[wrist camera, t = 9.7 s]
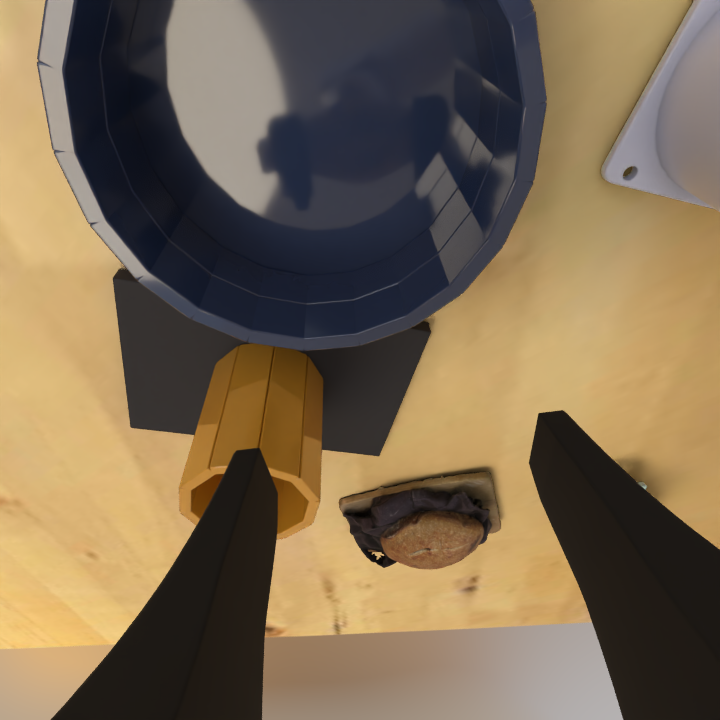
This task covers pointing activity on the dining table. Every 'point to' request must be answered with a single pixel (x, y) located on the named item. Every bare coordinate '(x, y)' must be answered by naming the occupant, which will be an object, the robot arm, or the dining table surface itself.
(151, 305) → the pot holder
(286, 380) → the cup
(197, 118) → the pot
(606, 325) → the dining table surface
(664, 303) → the dining table surface
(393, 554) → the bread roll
